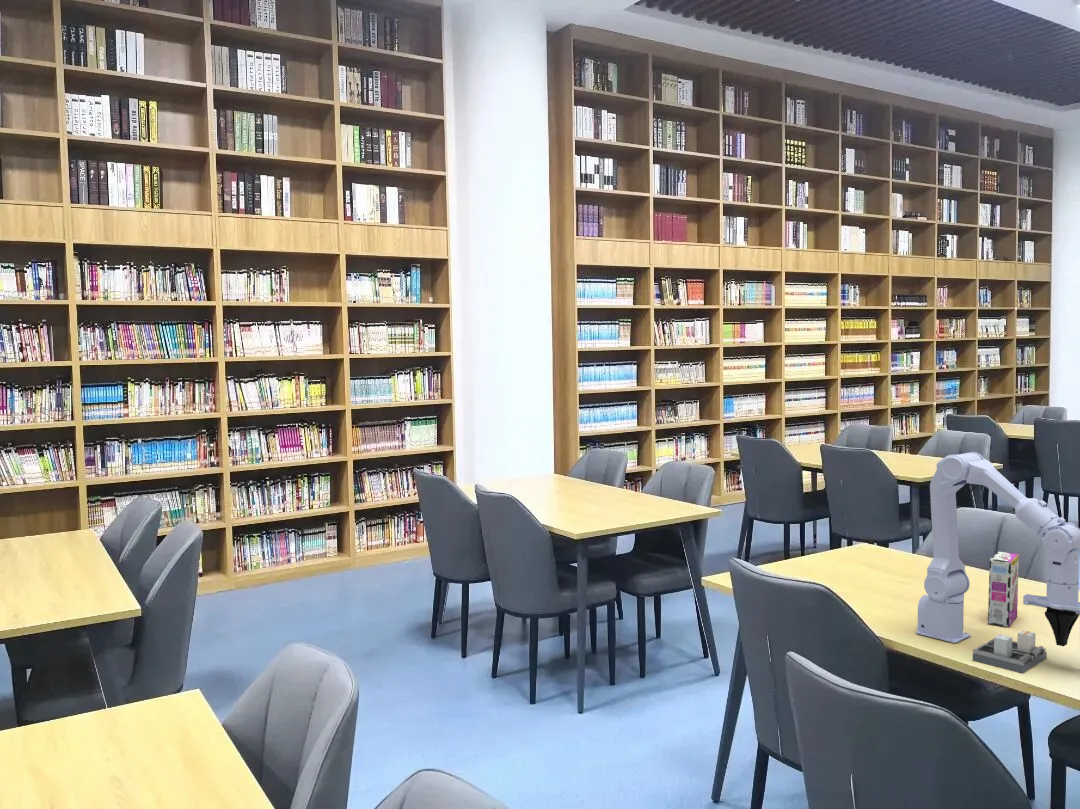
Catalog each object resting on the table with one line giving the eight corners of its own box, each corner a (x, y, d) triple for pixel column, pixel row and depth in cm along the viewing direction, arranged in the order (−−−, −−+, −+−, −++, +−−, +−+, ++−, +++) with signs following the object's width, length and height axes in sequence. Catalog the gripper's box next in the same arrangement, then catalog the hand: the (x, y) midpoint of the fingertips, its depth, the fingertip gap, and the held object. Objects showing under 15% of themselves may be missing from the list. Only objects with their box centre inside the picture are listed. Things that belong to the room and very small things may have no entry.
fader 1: (993, 655, 178) (994, 636, 178) (999, 652, 180) (1000, 633, 180) (1006, 658, 176) (1006, 639, 176) (1012, 655, 178) (1012, 636, 178)
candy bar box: (1010, 628, 201) (1011, 561, 200) (987, 624, 204) (988, 559, 203) (1018, 617, 209) (1019, 553, 208) (996, 613, 212) (997, 550, 211)
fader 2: (1017, 651, 180) (1017, 632, 180) (1022, 648, 182) (1023, 629, 182) (1029, 654, 178) (1030, 635, 178) (1035, 651, 180) (1035, 632, 180)
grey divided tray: (972, 660, 180) (972, 648, 180) (998, 646, 188) (998, 635, 188) (1022, 673, 172) (1022, 660, 172) (1046, 658, 180) (1046, 646, 180)
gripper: (1017, 578, 177) (1017, 640, 178) (1095, 591, 166) (1094, 658, 167) (1030, 572, 182) (1030, 633, 182) (1107, 585, 170) (1106, 650, 171)
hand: (1061, 644), depth 175 cm, fingers closed
